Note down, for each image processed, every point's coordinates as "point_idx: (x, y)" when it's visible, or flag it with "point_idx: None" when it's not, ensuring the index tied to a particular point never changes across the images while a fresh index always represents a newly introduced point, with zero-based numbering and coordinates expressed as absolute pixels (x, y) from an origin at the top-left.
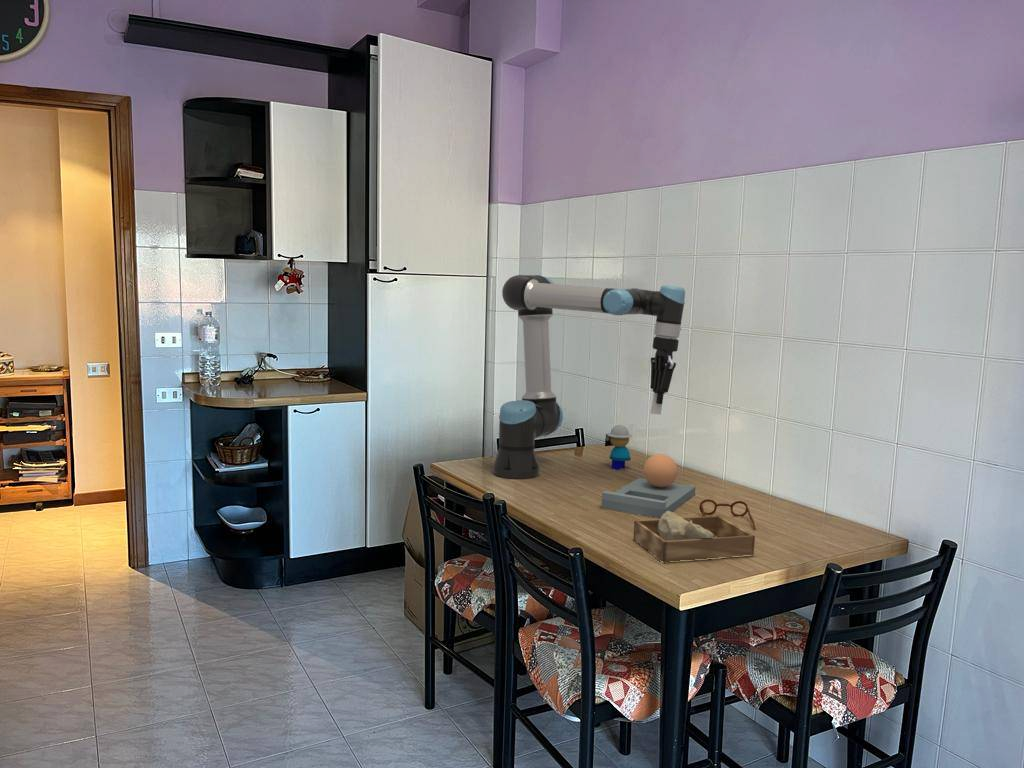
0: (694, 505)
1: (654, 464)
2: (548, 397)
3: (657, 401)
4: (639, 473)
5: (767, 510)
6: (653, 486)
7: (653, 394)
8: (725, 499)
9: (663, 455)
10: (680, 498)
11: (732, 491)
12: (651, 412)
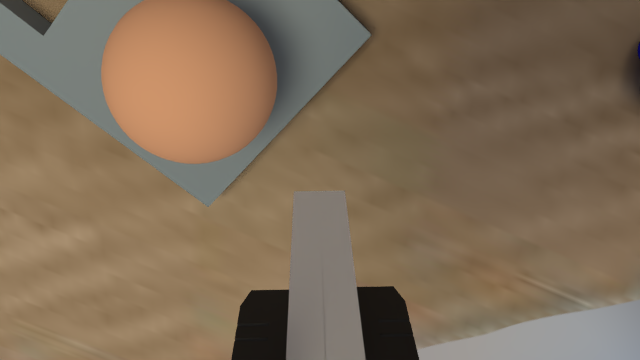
0: (67, 130)
1: (122, 29)
2: None
3: (258, 310)
4: (550, 113)
5: (28, 320)
6: None
7: (357, 352)
8: (150, 261)
9: (155, 109)
10: (37, 79)
11: None
12: (326, 195)
